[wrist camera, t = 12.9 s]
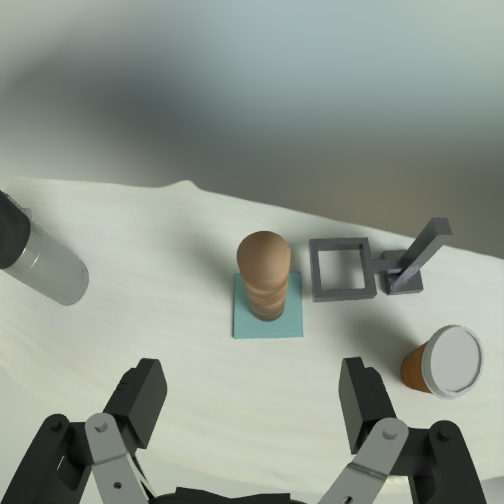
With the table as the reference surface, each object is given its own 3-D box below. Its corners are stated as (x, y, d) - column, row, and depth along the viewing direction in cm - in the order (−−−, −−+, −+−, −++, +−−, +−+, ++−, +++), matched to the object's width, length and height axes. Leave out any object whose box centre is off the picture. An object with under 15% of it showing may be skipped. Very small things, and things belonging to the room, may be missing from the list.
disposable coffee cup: (383, 393, 37) (418, 392, 26) (400, 333, 41) (436, 314, 30) (434, 404, 35) (477, 404, 24) (448, 347, 39) (491, 331, 28)
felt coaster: (234, 338, 43) (234, 338, 42) (235, 275, 47) (235, 274, 47) (303, 336, 42) (303, 336, 42) (299, 273, 46) (299, 271, 46)
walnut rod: (250, 322, 43) (236, 281, 27) (250, 290, 45) (237, 232, 29) (285, 321, 43) (292, 279, 27) (283, 288, 45) (289, 230, 29)
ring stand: (311, 306, 44) (326, 267, 30) (307, 252, 48) (317, 195, 34) (420, 298, 43) (469, 258, 29) (410, 248, 46) (449, 196, 33)
